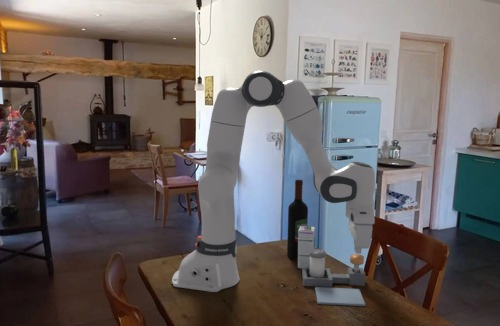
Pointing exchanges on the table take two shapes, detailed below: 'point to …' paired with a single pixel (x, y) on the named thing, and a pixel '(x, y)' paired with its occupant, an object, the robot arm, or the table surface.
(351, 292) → the mat
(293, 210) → the wine bottle
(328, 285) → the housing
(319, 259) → the white jar
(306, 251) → the syrup box
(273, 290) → the table surface
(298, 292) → the table surface
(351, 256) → the plunger
